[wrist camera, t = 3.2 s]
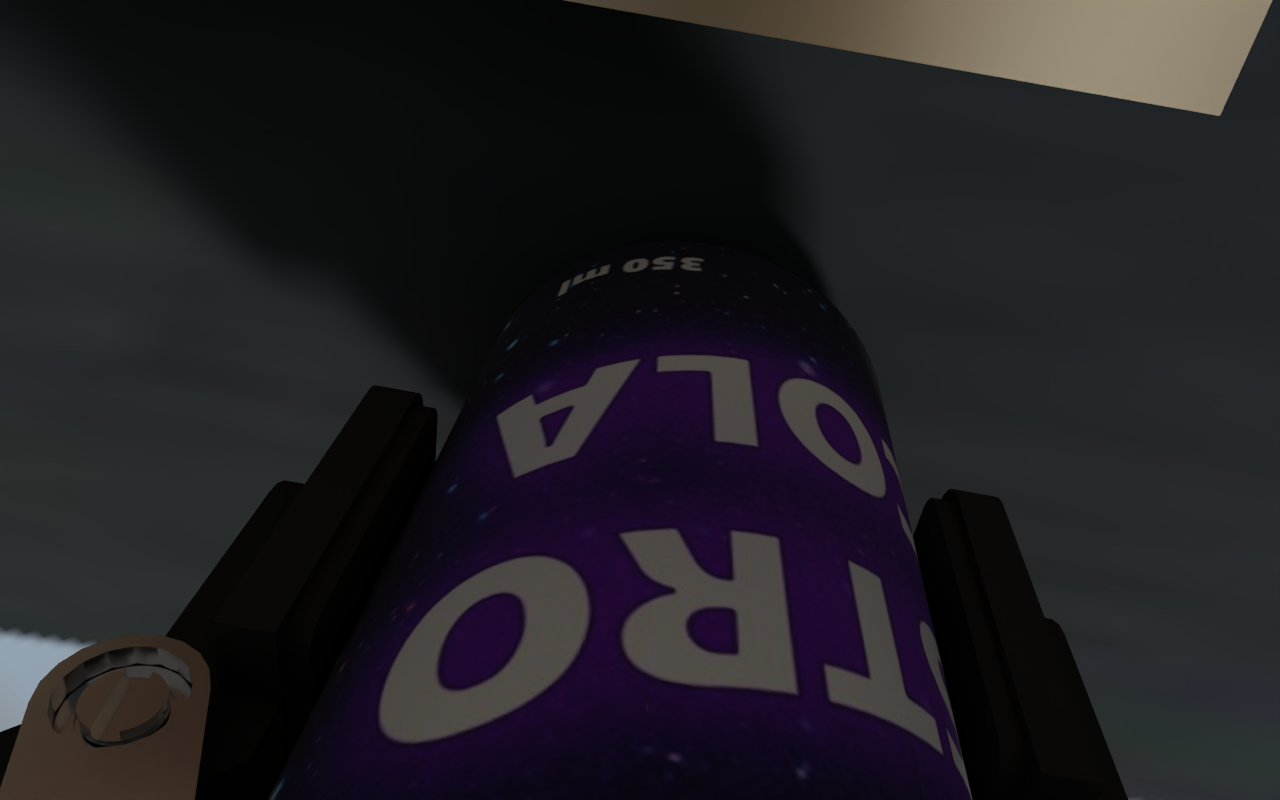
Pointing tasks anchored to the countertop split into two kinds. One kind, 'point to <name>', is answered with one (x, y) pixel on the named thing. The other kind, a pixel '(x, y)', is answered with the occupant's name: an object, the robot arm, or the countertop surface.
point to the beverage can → (650, 565)
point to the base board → (1018, 38)
